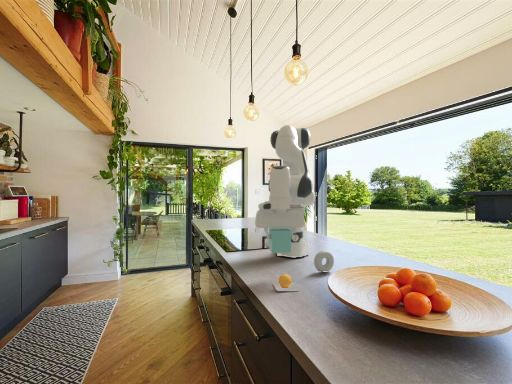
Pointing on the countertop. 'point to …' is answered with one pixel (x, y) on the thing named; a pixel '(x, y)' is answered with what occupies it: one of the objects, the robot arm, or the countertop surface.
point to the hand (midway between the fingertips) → (279, 238)
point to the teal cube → (280, 240)
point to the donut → (328, 263)
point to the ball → (285, 281)
